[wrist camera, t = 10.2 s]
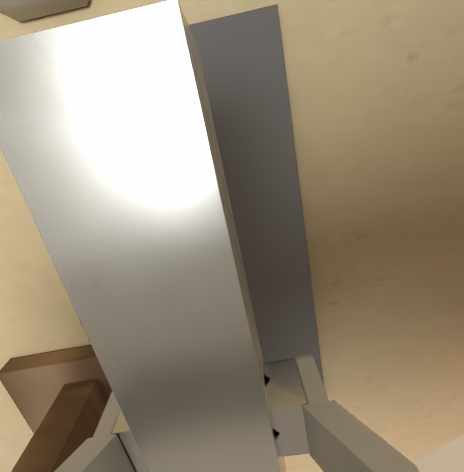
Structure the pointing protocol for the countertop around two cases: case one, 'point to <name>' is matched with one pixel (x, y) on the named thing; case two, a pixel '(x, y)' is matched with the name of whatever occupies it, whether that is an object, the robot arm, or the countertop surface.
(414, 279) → the countertop surface
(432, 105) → the countertop surface
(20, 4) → the flask
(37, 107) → the steel rail
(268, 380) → the robot arm
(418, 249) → the countertop surface
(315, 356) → the rubber mat
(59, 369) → the rail stand
